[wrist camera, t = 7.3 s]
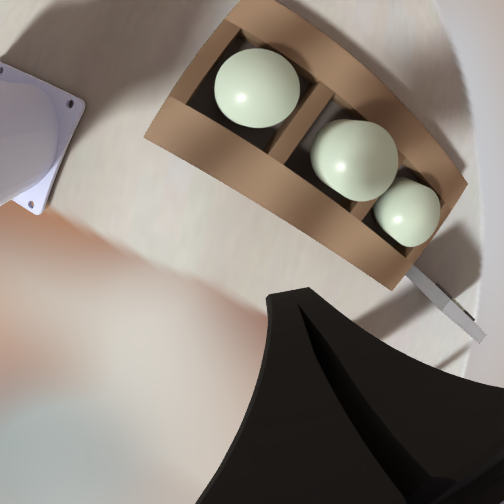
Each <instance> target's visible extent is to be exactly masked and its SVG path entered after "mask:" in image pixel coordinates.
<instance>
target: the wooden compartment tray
mask: <svg viewBox="0 0 504 504" xmlns="http://www.w3.org/2000/svg"><path fill="white" fill-rule="evenodd" d="M255 48H256V49H266V50H270V51H273V52H275V53H277V54H279V55H281V56H282V57H284V58H285V59H286V60H287V61H288V62H289V63H290V64H291V65H292V66H293V68H294V70H295V71H296V73H297V76H298V79H299V84H300V94H299V99H298V102H297V104H296V107H295V108H294V110H293V111H292V112H291V114H290V115H289V116H288V117H287V118H286V119H284V120H283V121H281V122H279V123H278V124H275V125H273V126H269V127H264V128H253V127H247V126H243V125H240V124H237V123H235V122H233V121H231V120H230V119H228V118H227V117H226V116H225V115H224V114H223V113H222V112H221V111H220V109H219V107H218V105H217V103H216V100H215V93H214V89H215V80H216V77H217V74H218V72H219V69H220V68H221V66H222V65H223V64H224V62H225V61H226V60H227V59H229V58H230V57H231V56H233V55H234V54H236V53H238V52H240V51H243V50H247V49H255ZM339 119H347V120H358V121H367V122H372V123H375V124H377V125H379V126H381V127H382V128H384V129H385V130H386V131H387V132H388V133H389V134H390V136H391V137H392V139H393V140H394V142H395V145H396V148H397V152H398V169H397V173H396V176H395V177H399V176H400V177H406V178H408V179H410V180H412V181H415V182H417V183H419V184H422V185H424V186H426V187H428V188H430V189H432V190H433V191H434V192H435V193H436V195H437V197H438V199H439V202H440V218H439V222H438V225H437V227H436V229H435V231H434V232H433V234H432V235H431V236H430V238H429V239H428V240H426V241H425V242H424V243H422V244H420V245H418V246H414V247H407V246H404V245H402V244H400V243H399V242H398V241H397V240H395V239H394V238H393V237H392V236H390V235H389V234H388V233H386V232H385V231H384V230H383V229H381V228H380V227H379V226H378V225H377V223H376V221H375V219H374V216H373V205H374V203H375V202H376V200H377V199H378V198H379V197H377V198H375V199H373V200H369V201H354V200H351V199H348V198H346V197H345V196H343V195H342V194H340V193H339V192H337V191H336V190H334V189H333V188H331V187H330V186H328V185H327V184H325V183H324V182H323V181H321V180H320V179H319V177H318V176H317V175H316V173H315V171H314V169H313V167H312V164H311V157H310V151H311V145H312V142H313V139H314V137H315V135H316V134H317V132H318V131H319V130H320V129H321V128H322V127H323V126H324V125H326V124H327V123H329V122H331V121H334V120H339ZM144 138H145V139H147V140H149V141H151V142H153V143H155V144H156V145H158V146H160V147H162V148H164V149H165V150H167V151H169V152H171V153H172V154H174V155H176V156H178V157H179V158H181V159H183V160H185V161H187V162H188V163H190V164H192V165H193V166H195V167H197V168H199V169H200V170H202V171H204V172H206V173H207V174H209V175H211V176H212V177H214V178H216V179H218V180H219V181H221V182H223V183H224V184H226V185H228V186H229V187H231V188H233V189H234V190H236V191H238V192H239V193H241V194H243V195H244V196H246V197H248V198H249V199H251V200H253V201H254V202H256V203H257V204H259V205H261V206H262V207H264V208H266V209H267V210H269V211H270V212H272V213H274V214H275V215H277V216H278V217H280V218H282V219H283V220H285V221H286V222H288V223H290V224H291V225H293V226H294V227H296V228H297V229H299V230H301V231H302V232H304V233H305V234H307V235H308V236H310V237H312V238H313V239H315V240H316V241H318V242H319V243H321V244H322V245H324V246H325V247H327V248H328V249H330V250H332V251H333V252H335V253H336V254H338V255H339V256H341V257H342V258H344V259H345V260H347V261H348V262H350V263H351V264H353V265H354V266H356V267H357V268H359V269H360V270H362V271H363V272H365V273H366V274H367V275H369V276H370V277H372V278H373V279H375V280H376V281H378V282H379V283H381V284H382V285H384V286H385V287H386V288H388V289H389V290H391V291H392V290H393V289H394V288H395V287H396V286H397V284H398V283H399V282H400V281H401V279H402V278H403V277H404V276H405V274H406V273H407V272H408V270H409V269H410V268H411V267H412V265H413V264H414V263H415V261H416V260H417V259H418V257H419V256H420V255H421V253H422V252H423V251H424V249H425V248H426V247H427V245H428V244H429V242H430V241H431V240H432V238H433V237H434V235H435V234H436V232H437V231H438V230H439V228H440V227H441V225H442V224H443V222H444V221H445V219H446V218H447V216H448V215H449V213H450V212H451V210H452V209H453V207H454V206H455V204H456V203H457V201H458V199H459V198H460V196H461V195H462V193H463V191H464V190H465V188H466V186H467V185H468V183H467V182H466V180H465V179H464V177H463V176H462V174H461V173H460V172H459V170H458V169H457V168H456V166H455V165H454V163H453V162H452V161H451V159H450V158H449V157H448V156H447V154H446V153H445V152H444V150H443V149H442V148H441V147H440V145H439V144H438V143H437V142H436V140H435V139H434V138H433V137H432V136H431V134H430V133H429V132H428V131H427V130H426V128H425V127H424V126H423V125H422V124H421V123H420V122H419V120H418V119H417V118H416V117H415V116H414V115H413V114H412V113H411V112H410V111H409V109H408V108H407V107H406V106H405V105H404V104H403V103H402V102H401V101H400V100H399V99H398V98H397V97H396V96H395V95H394V94H393V93H392V92H391V91H390V90H389V89H388V88H387V87H386V86H385V85H384V84H383V83H382V82H381V81H380V80H379V79H378V78H377V77H375V76H374V75H373V74H372V73H371V72H370V71H369V70H368V69H367V68H366V67H364V66H363V65H362V64H361V63H360V62H359V61H358V60H356V59H355V58H354V57H353V56H352V55H350V54H349V53H348V52H347V51H346V50H344V49H343V48H342V47H341V46H339V45H338V44H337V43H336V42H334V41H333V40H332V39H330V38H329V37H328V36H326V35H325V34H324V33H322V32H321V31H320V30H318V29H317V28H316V27H314V26H313V25H311V24H310V23H309V22H307V21H306V20H304V19H303V18H301V17H300V16H298V15H297V14H295V13H294V12H292V11H291V10H289V9H287V8H286V7H284V6H283V5H281V4H279V3H278V2H276V1H275V0H241V1H240V2H239V3H238V4H237V5H236V6H235V7H234V8H233V10H232V11H231V12H230V13H229V14H228V15H227V17H226V18H225V19H224V20H223V21H222V23H221V24H220V25H219V26H218V28H217V29H216V30H215V31H214V33H213V34H212V35H211V36H210V38H209V39H208V40H207V42H206V43H205V44H204V45H203V47H202V48H201V49H200V51H199V52H198V53H197V55H196V56H195V58H194V59H193V60H192V62H191V63H190V65H189V66H188V67H187V69H186V70H185V72H184V73H183V75H182V76H181V77H180V79H179V80H178V82H177V83H176V85H175V86H174V88H173V89H172V91H171V92H170V94H169V96H168V97H167V99H166V100H165V102H164V103H163V105H162V107H161V108H160V110H159V112H158V113H157V115H156V116H155V118H154V120H153V121H152V123H151V125H150V127H149V128H148V130H147V132H146V134H145V135H144Z"/></svg>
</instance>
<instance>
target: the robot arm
mask: <svg viewBox="0 0 504 504" xmlns="http://www.w3.org/2000/svg"><path fill="white" fill-rule="evenodd" d="M2 68H3V72H2V73H1V70H2ZM71 100H73V102H74V104H73V107H72V108H70V107H69V103H70V101H71ZM85 107H86V106H85V102H84V101H83V100H82V99H80V98H78V97H76V96H74V95H72V94H70V93H68V92H66V91H64V90H62V89H60V88H57V87H55V86H53V85H51V84H49V83H47V82H45V81H43V80H41V79H38V78H36V77H34V76H32V75H30V74H27V73H25V72H23V71H21V70H19V69H16V68H14V67H12V66H9V65H7V64H5V63H2V62H0V206H1V205H3V204H5V203H6V202H8V201H9V200H11V199H12V200H13V201H15V202H16V203H18V204H19V205H21V206H23V207H24V208H26V209H27V210H29V211H31V212H32V213H34V214H36V215H40V214H41V213H42V212H43V211H44V209H45V206H46V203H47V200H48V197H49V194H50V191H51V188H52V185H53V182H54V180H55V177H56V174H57V172H58V169H59V166H60V164H61V161H62V159H63V156H64V154H65V152H66V149H67V147H68V144H69V142H70V140H71V138H72V135H73V133H74V131H75V129H76V127H77V125H78V123H79V120H80V118H81V116H82V114H83V112H84V110H85ZM31 201H32V202H33V203H34V207H33V206H32V205H31ZM266 305H267V314H268V329H267V338H266V345H265V350H264V355H263V360H262V365H261V368H260V372H259V376H258V379H257V383H256V386H255V389H254V392H253V395H252V398H251V401H250V403H249V406H248V409H247V411H246V413H245V416H244V419H243V421H242V423H241V425H240V428H239V430H238V432H237V434H236V436H235V438H234V440H233V442H232V444H231V446H230V448H229V450H228V452H227V453H226V455H225V458H224V459H223V461H222V463H221V465H220V466H219V468H218V470H217V471H216V473H215V474H214V476H213V478H212V479H211V481H210V482H209V484H208V485H207V487H206V488H205V490H204V491H203V493H202V494H201V496H200V497H199V499H198V500H197V502H196V504H504V388H500V387H495V386H490V385H485V384H481V383H478V382H474V381H471V380H467V379H464V378H461V377H458V376H455V375H452V374H449V373H446V372H444V371H441V370H439V369H436V368H434V367H432V366H429V365H427V364H424V363H422V362H420V361H418V360H416V359H414V358H412V357H410V356H408V355H406V354H404V353H402V352H400V351H398V350H396V349H394V348H392V347H391V346H389V345H387V344H386V343H384V342H382V341H381V340H379V339H377V338H376V337H374V336H373V335H371V334H370V333H368V332H367V331H365V330H364V329H362V328H361V327H359V326H358V325H357V324H355V323H354V322H353V321H351V320H350V319H348V318H347V317H346V316H344V315H343V314H342V313H340V312H339V311H338V310H337V309H335V308H334V307H333V306H332V305H330V304H329V303H328V302H327V301H325V300H324V299H323V298H322V297H321V296H319V295H318V294H317V293H316V292H314V291H313V290H312V289H311V288H309V287H307V288H301V289H296V290H291V291H285V292H280V293H274V294H269V295H268V296H267V297H266Z"/></svg>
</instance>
